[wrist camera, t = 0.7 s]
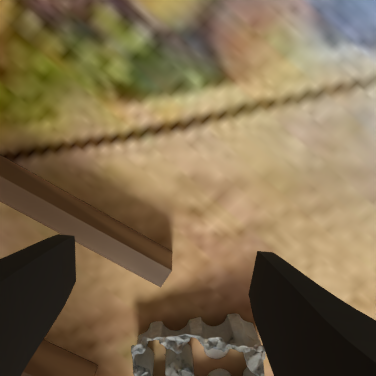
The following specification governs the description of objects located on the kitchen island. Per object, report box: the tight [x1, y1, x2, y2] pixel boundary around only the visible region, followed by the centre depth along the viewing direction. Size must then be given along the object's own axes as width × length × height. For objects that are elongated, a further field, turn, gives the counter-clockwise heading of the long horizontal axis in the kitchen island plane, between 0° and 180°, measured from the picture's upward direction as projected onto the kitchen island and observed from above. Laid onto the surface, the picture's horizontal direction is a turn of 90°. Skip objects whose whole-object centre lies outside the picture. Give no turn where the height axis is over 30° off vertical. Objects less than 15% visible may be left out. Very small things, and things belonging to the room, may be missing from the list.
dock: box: [0, 155, 172, 376], centre depth 19 cm, size 14×16×4 cm
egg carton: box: [131, 313, 265, 376], centre depth 21 cm, size 11×8×4 cm
